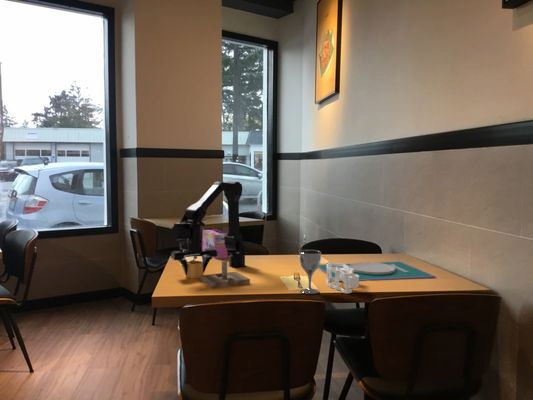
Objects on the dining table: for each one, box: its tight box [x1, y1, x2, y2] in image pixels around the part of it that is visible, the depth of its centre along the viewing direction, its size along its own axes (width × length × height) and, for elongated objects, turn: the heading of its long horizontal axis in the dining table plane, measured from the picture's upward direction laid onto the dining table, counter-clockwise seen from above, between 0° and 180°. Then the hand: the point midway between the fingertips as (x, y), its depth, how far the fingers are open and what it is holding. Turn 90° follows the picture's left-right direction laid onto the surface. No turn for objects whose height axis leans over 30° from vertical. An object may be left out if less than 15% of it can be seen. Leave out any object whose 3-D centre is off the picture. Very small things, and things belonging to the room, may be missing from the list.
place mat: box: [317, 260, 436, 282], centre depth 204 cm, size 45×30×2 cm
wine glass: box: [299, 249, 322, 295], centre depth 168 cm, size 8×8×15 cm
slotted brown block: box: [199, 260, 251, 290], centre depth 181 cm, size 16×14×8 cm
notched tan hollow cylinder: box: [185, 260, 204, 279], centre depth 190 cm, size 7×7×6 cm
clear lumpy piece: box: [325, 262, 360, 294], centre depth 176 cm, size 20×11×7 cm, turn 179°
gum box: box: [201, 228, 229, 260], centre depth 236 cm, size 22×7×13 cm, turn 25°
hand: (194, 274), depth 190 cm, fingers closed on notched tan hollow cylinder, 7 cm apart
